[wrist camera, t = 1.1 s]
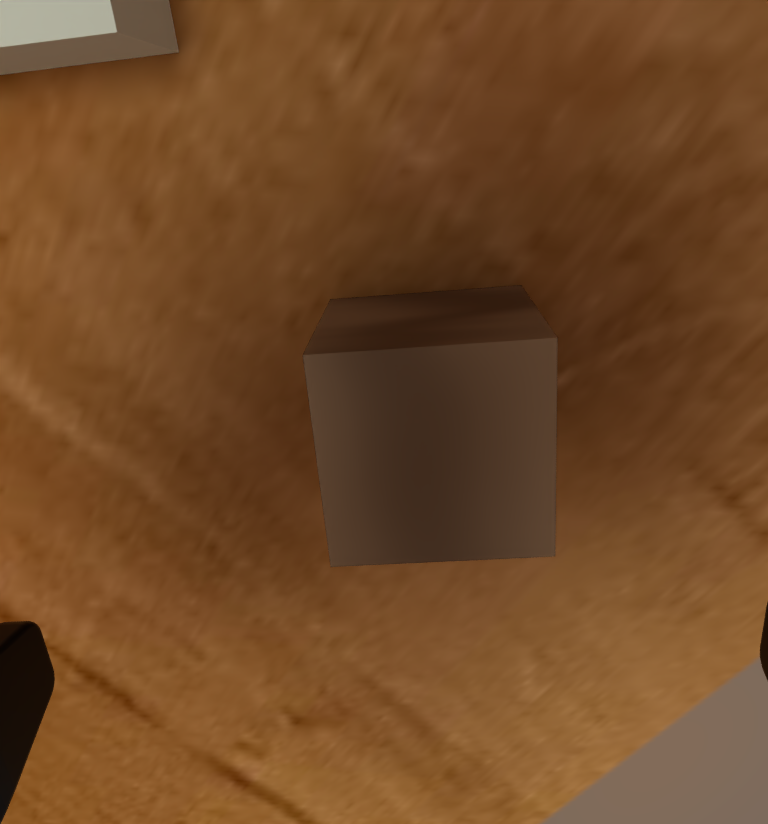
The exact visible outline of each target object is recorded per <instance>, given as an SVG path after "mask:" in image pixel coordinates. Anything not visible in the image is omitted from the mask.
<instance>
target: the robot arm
mask: <svg viewBox="0 0 768 824" xmlns="http://www.w3.org/2000/svg"><path fill="white" fill-rule="evenodd" d="M760 659H761V664H762V668H763V671H764V673H765V676H766V678H767V680H768V603H767V607H766V613H765V619H764V626H763V632H762V639H761V645H760ZM54 680H55V677H54V670H53V666H52V663H51V660H50V657H49V654H48V651H47V648H46V645H45V642H44V638H43V635H42V632H41V630H40V628H39V626H38V625H37V624H36V623H34V622H31V621H19V622H3V623H0V824H1V822H2V820H3V817H4V815H5V813H6V811H7V809H8V806H9V804H10V801H11V799H12V797H13V794H14V792H15V789H16V787H17V784H18V782H19V779H20V776H21V774H22V771H23V768H24V766H25V763H26V760H27V758H28V755H29V753H30V750H31V747H32V745H33V742H34V739H35V737H36V734H37V732H38V729H39V726H40V724H41V721H42V718H43V716H44V713H45V710H46V708H47V705H48V703H49V700H50V697H51V695H52V692H53V688H54Z"/></svg>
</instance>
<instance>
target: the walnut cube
mask: <svg viewBox="0 0 768 824" xmlns="http://www.w3.org/2000/svg"><path fill="white" fill-rule="evenodd" d="M557 342H558V338H557V336H556V335H555V333H554V332H553V330H552V329H551V328H550V326H549V325H548V323H547V322H546V320H545V319H544V317H543V316H542V315H541V313H540V312H539V310H538V309H537V307H536V306H535V304H534V303H533V301H532V300H531V299H530V297H529V296H528V294H527V293H526V291H525V290H524V288H523V287H522V286H521V285H518V286H504V287H491V288H477V289H464V290H450V291H436V292H423V293H409V294H396V295H382V296H368V297H355V298H341V299H330V301H329V303H328V305H327V307H326V309H325V311H324V313H323V315H322V317H321V319H320V321H319V323H318V325H317V327H316V329H315V331H314V333H313V335H312V337H311V339H310V341H309V343H308V345H307V347H306V349H305V351H304V353H303V361H304V369H305V376H306V384H307V392H308V399H309V407H310V414H311V422H312V429H313V437H314V444H315V452H316V459H317V467H318V474H319V482H320V490H321V497H322V505H323V512H324V520H325V527H326V535H327V542H328V550H329V557H330V565H331V567H338V566H360V565H381V564H402V563H424V562H445V561H467V560H488V559H509V558H531V557H552V556H555V533H556V437H557Z"/></svg>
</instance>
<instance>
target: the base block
mask: <svg viewBox="0 0 768 824" xmlns="http://www.w3.org/2000/svg"><path fill="white" fill-rule="evenodd" d="M178 52H179V50H178V44H177V39H176V34H175V29H174V24H173V19H172V13H171V8H170V3H169V0H0V75H4V74H12V73H20V72H28V71H36V70H44V69H52V68H60V67H67V66H75V65H83V64H91V63H99V62H107V61H115V60H123V59H131V58H139V57H147V56H155V55H163V54H170V53H178Z"/></svg>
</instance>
